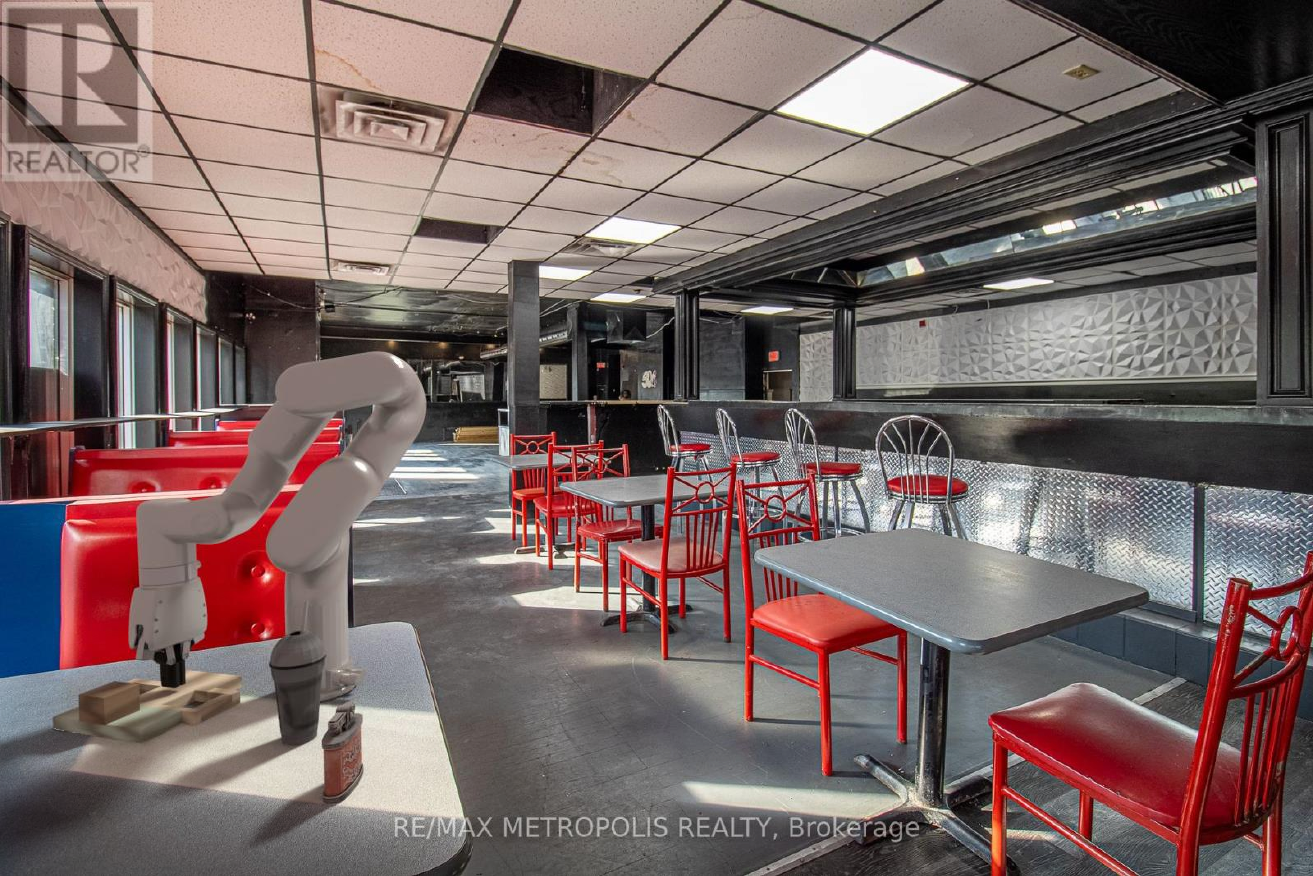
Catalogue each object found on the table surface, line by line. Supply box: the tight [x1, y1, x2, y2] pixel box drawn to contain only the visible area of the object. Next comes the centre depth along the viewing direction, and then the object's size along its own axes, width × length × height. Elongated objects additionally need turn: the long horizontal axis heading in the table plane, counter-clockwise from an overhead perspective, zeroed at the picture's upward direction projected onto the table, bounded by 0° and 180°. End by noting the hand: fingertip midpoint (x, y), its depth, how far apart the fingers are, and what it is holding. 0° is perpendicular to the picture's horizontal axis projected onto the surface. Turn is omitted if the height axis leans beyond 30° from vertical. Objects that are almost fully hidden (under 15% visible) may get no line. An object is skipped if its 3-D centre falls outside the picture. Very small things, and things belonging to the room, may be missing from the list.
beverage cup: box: [268, 601, 326, 746], centre depth 93 cm, size 7×7×20 cm
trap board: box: [52, 669, 243, 744], centre depth 103 cm, size 22×19×2 cm
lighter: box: [321, 700, 365, 806], centre depth 81 cm, size 8×3×10 cm, turn 5°
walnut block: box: [77, 680, 140, 725], centre depth 96 cm, size 5×5×4 cm
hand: (173, 685), depth 105 cm, fingers closed
